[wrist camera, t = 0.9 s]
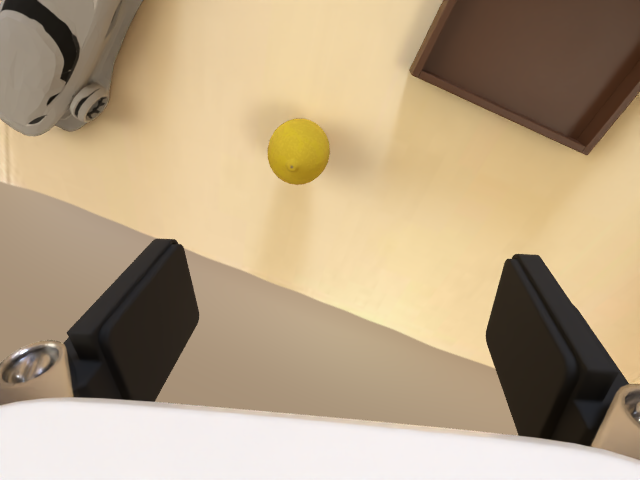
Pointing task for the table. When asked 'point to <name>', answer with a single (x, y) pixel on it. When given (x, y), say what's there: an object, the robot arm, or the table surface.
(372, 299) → the table surface
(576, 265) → the table surface
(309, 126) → the lemon
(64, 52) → the car model
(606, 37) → the walnut tray
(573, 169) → the table surface
